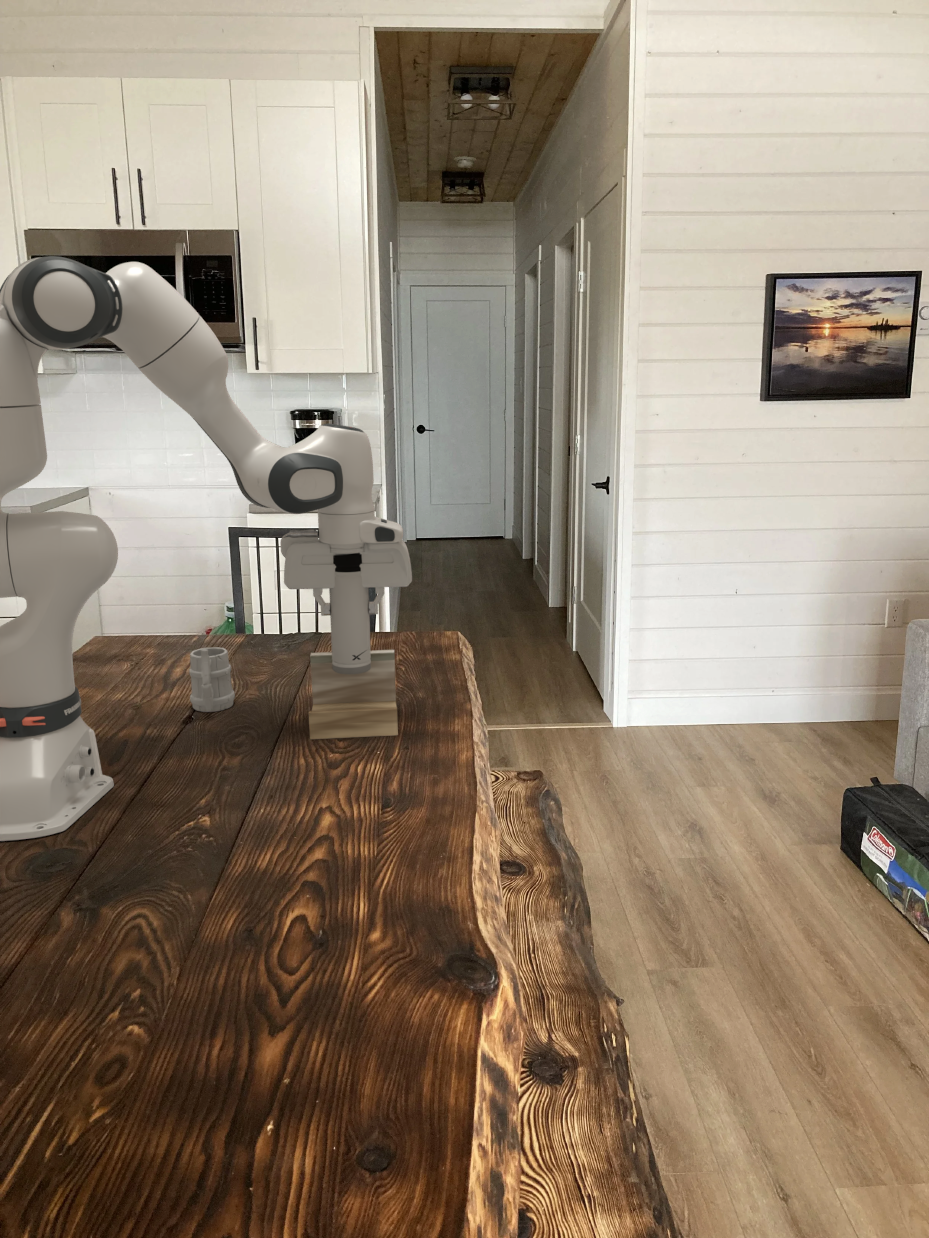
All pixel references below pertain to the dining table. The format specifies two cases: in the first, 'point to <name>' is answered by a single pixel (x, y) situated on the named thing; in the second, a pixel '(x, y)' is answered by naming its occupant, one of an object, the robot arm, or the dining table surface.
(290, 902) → the dining table surface
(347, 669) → the travel mug
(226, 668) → the mug
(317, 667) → the wooden l bracket
